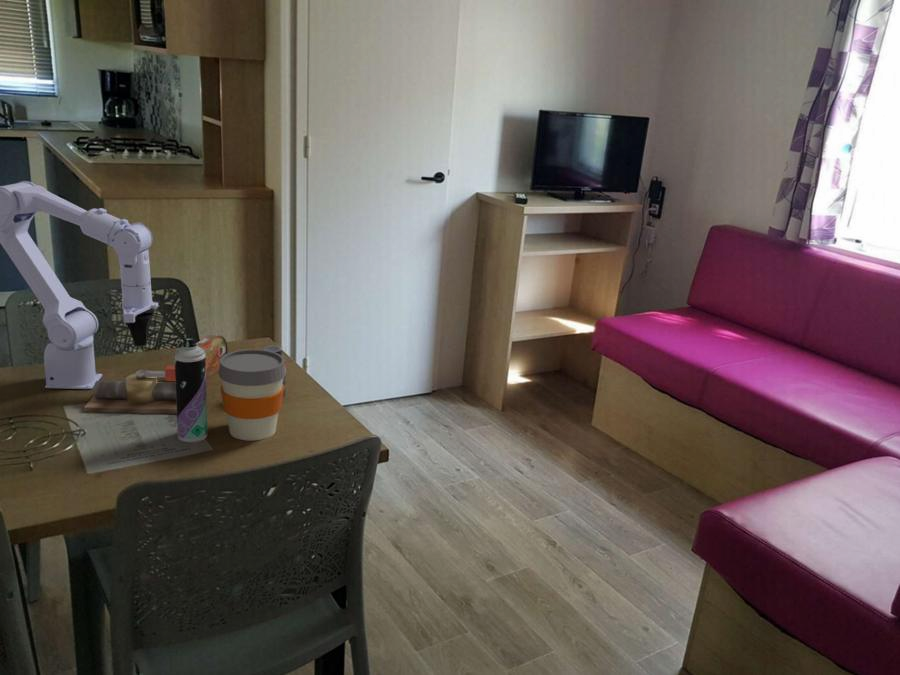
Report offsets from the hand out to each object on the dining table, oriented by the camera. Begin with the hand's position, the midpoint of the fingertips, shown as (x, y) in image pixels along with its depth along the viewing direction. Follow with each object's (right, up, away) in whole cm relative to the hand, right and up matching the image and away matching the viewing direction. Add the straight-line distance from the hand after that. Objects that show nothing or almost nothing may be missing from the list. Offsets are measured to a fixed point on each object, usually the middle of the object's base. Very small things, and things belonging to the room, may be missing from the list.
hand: (140, 344), depth 163 cm
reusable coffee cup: (+27, -17, -11) cm, 34 cm away
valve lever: (+6, -7, -4) cm, 10 cm away
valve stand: (+1, -12, -3) cm, 13 cm away
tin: (+9, -7, +14) cm, 19 cm away
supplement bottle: (+27, -12, +5) cm, 30 cm away
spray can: (+16, -18, -15) cm, 28 cm away
